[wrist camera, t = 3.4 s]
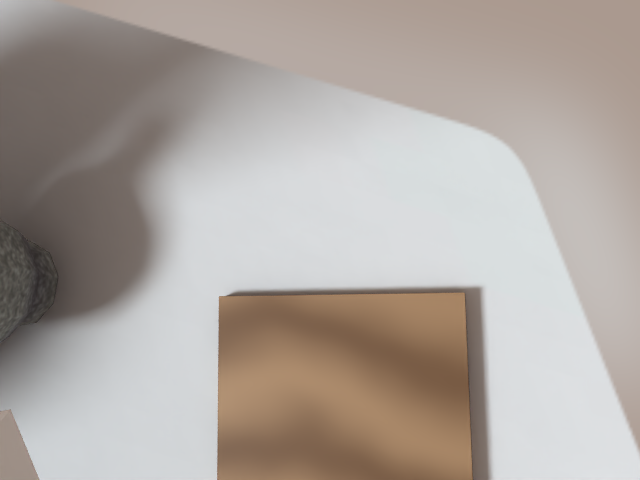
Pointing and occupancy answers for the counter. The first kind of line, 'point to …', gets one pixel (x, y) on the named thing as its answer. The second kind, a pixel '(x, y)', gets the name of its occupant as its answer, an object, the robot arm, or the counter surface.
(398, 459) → the cutting board
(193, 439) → the counter surface
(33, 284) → the mortar and pestle
